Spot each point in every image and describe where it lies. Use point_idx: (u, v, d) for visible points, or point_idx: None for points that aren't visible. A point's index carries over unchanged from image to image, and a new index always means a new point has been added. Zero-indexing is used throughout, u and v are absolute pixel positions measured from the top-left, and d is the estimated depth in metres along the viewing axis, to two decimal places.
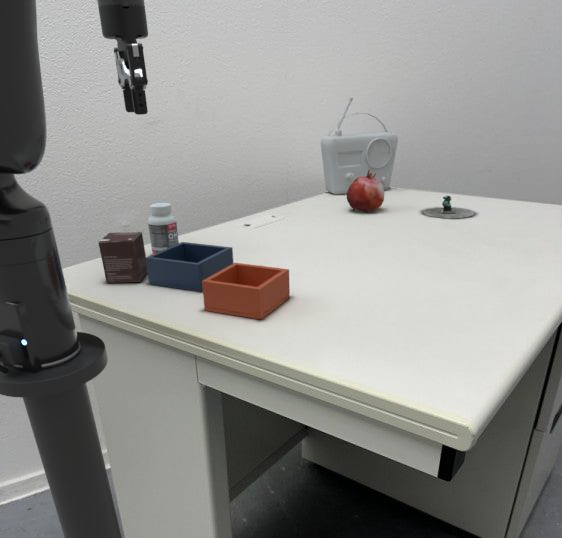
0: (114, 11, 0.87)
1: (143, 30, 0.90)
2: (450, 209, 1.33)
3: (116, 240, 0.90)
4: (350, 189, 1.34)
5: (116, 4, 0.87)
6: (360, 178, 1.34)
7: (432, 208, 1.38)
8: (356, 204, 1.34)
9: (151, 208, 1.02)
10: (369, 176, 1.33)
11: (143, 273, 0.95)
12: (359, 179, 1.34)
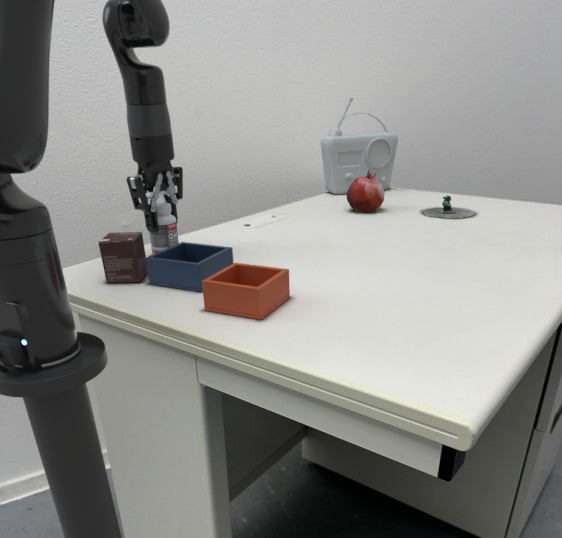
0: (131, 141, 0.96)
1: (155, 157, 0.96)
2: (450, 209, 1.33)
3: (116, 240, 0.90)
4: (350, 189, 1.34)
5: (131, 136, 0.95)
6: (360, 178, 1.34)
7: (432, 208, 1.38)
8: (356, 204, 1.34)
9: None
10: (369, 176, 1.33)
11: (143, 273, 0.95)
12: (359, 179, 1.34)
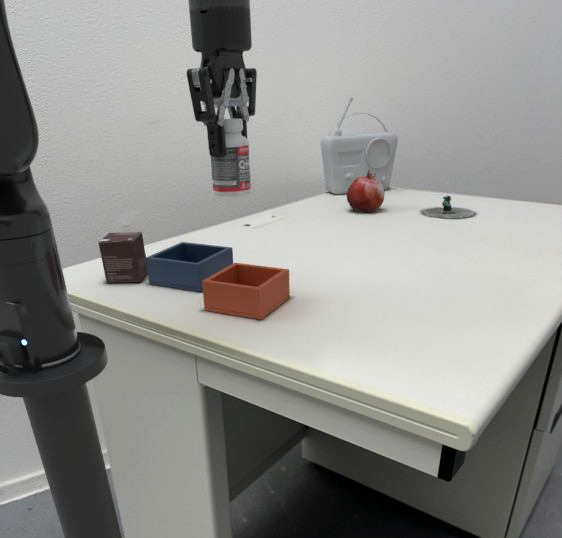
0: (193, 18, 0.66)
1: (228, 41, 0.66)
2: (450, 209, 1.33)
3: (116, 240, 0.90)
4: (350, 189, 1.34)
5: (194, 8, 0.65)
6: (360, 178, 1.34)
7: (432, 208, 1.38)
8: (356, 204, 1.34)
9: None
10: (369, 176, 1.33)
11: (143, 273, 0.95)
12: (359, 179, 1.34)
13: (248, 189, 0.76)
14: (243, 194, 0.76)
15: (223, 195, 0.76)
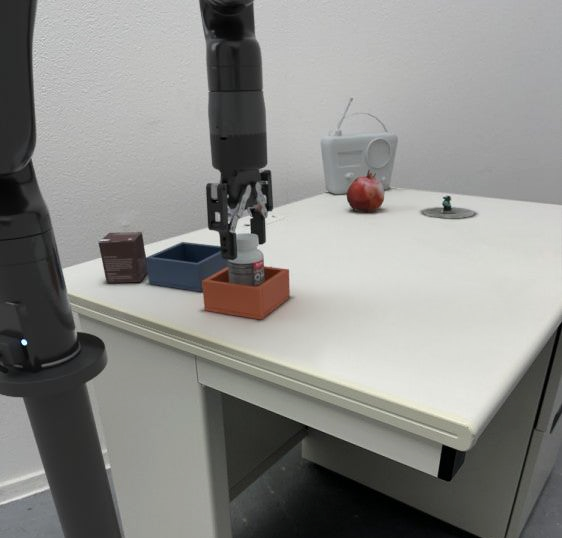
0: (213, 142, 0.70)
1: (246, 163, 0.70)
2: (450, 209, 1.33)
3: (116, 240, 0.90)
4: (350, 189, 1.34)
5: (214, 134, 0.70)
6: (360, 178, 1.34)
7: (432, 208, 1.38)
8: (356, 204, 1.34)
9: None
10: (369, 176, 1.33)
11: (143, 273, 0.95)
12: (359, 179, 1.34)
13: None
14: None
15: None
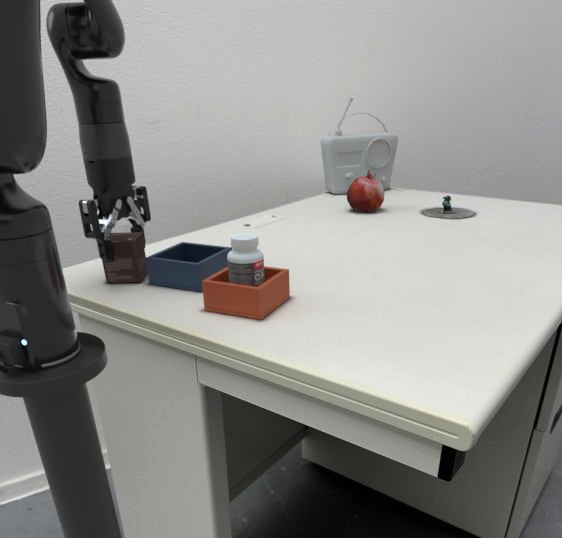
0: (85, 164, 0.85)
1: (112, 182, 0.85)
2: (450, 209, 1.33)
3: (116, 240, 0.90)
4: (350, 189, 1.34)
5: (85, 158, 0.84)
6: (360, 178, 1.34)
7: (432, 208, 1.38)
8: (356, 204, 1.34)
9: (233, 241, 0.78)
10: (369, 176, 1.33)
11: (143, 273, 0.95)
12: (359, 179, 1.34)
13: None
14: None
15: None
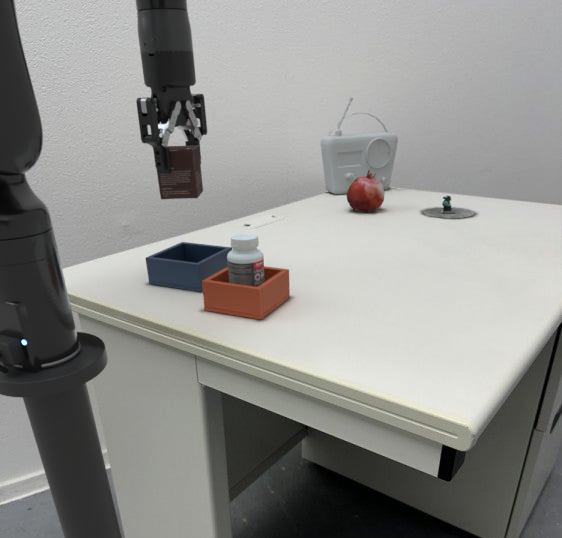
0: (143, 59, 0.77)
1: (173, 79, 0.77)
2: (450, 209, 1.33)
3: (173, 149, 0.83)
4: (350, 189, 1.34)
5: (143, 52, 0.76)
6: (360, 178, 1.34)
7: (432, 208, 1.38)
8: (356, 204, 1.34)
9: (233, 241, 0.78)
10: (369, 176, 1.33)
11: (200, 190, 0.87)
12: (359, 179, 1.34)
13: None
14: None
15: None
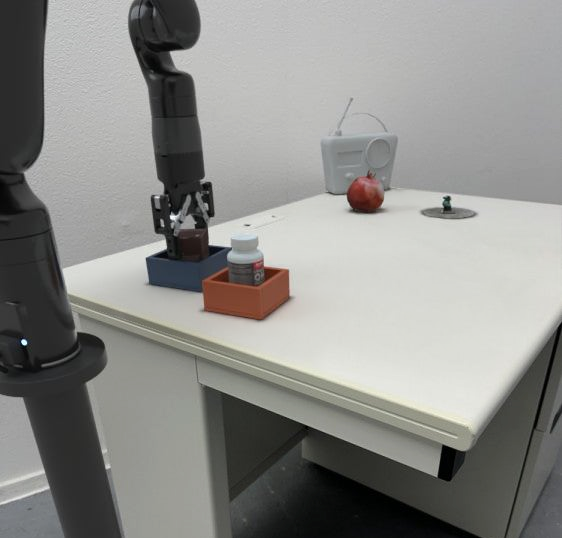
0: (156, 159, 0.83)
1: (184, 177, 0.83)
2: (450, 209, 1.33)
3: (184, 236, 0.89)
4: (350, 189, 1.34)
5: (157, 153, 0.83)
6: (360, 178, 1.34)
7: (432, 208, 1.38)
8: (356, 204, 1.34)
9: (233, 241, 0.78)
10: (369, 176, 1.33)
11: None
12: (359, 179, 1.34)
13: None
14: None
15: None
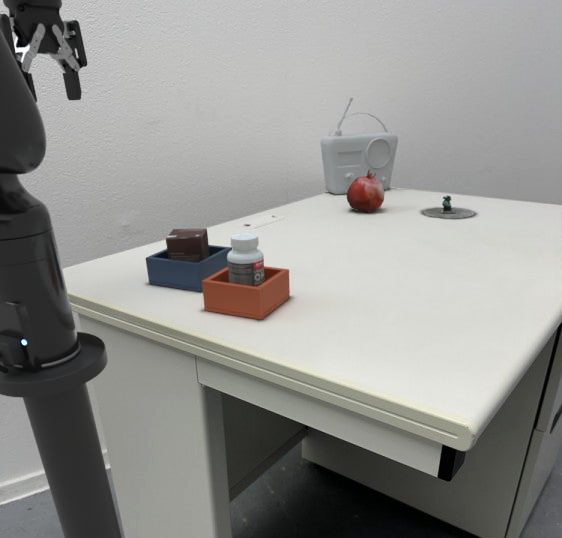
0: None
1: None
2: (450, 209, 1.33)
3: (184, 236, 0.89)
4: (350, 189, 1.34)
5: None
6: (360, 178, 1.34)
7: (432, 208, 1.38)
8: (356, 204, 1.34)
9: (233, 241, 0.78)
10: (369, 176, 1.33)
11: None
12: (359, 179, 1.34)
13: None
14: None
15: None
